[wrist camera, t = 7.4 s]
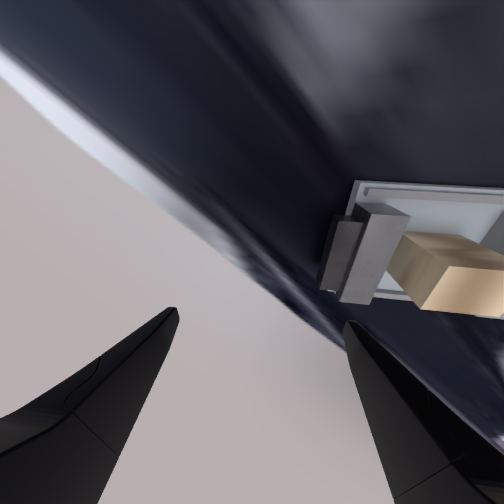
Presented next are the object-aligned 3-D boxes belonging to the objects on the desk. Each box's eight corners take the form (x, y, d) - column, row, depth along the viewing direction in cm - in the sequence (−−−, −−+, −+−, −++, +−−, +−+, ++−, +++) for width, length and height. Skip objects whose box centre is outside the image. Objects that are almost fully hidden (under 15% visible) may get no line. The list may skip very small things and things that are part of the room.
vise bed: (542, 190, 14) (639, 205, 11) (459, 296, 20) (502, 332, 16) (354, 180, 15) (380, 190, 12) (324, 283, 21) (335, 313, 17)
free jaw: (387, 204, 15) (411, 216, 12) (356, 283, 19) (369, 304, 16) (332, 201, 15) (343, 212, 13) (313, 278, 19) (318, 299, 17)
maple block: (460, 235, 16) (542, 274, 11) (437, 270, 17) (499, 317, 13) (397, 230, 16) (449, 266, 11) (381, 265, 18) (420, 309, 13)
